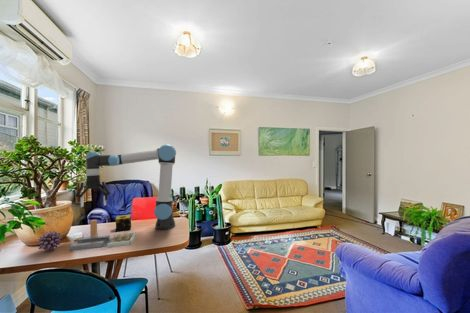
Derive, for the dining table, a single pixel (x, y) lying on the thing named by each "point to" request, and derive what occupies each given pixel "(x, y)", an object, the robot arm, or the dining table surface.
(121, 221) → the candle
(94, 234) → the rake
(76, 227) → the dining table surface
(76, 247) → the slot board
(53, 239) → the flower
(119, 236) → the chip
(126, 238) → the chip
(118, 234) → the tray
